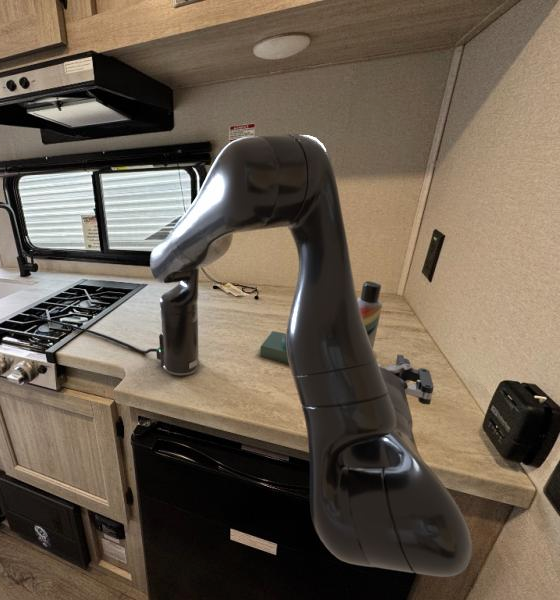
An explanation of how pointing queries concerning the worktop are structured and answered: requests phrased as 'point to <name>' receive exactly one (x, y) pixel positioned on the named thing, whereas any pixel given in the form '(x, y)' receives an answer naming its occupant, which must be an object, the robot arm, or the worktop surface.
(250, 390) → the worktop surface
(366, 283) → the spray can
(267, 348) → the button base
